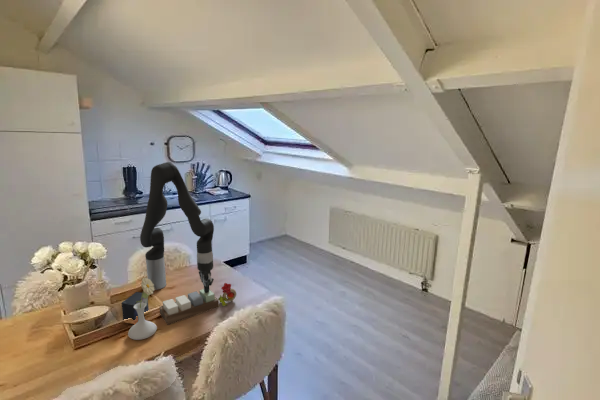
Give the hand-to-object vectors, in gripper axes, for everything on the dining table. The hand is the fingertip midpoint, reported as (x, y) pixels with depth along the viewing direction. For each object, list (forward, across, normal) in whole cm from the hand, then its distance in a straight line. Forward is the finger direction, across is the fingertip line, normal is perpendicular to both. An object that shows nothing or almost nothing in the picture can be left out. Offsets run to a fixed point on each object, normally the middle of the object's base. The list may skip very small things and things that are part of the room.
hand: (206, 291), depth 167 cm
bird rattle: (+7, +4, +9) cm, 12 cm away
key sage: (+5, 0, 0) cm, 5 cm away
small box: (+7, -9, -31) cm, 33 cm away
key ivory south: (+5, 0, -18) cm, 18 cm away
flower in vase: (+7, +5, -31) cm, 32 cm away
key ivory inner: (+5, 0, -12) cm, 13 cm away
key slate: (+5, 0, -6) cm, 7 cm away
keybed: (+7, 0, -9) cm, 11 cm away
